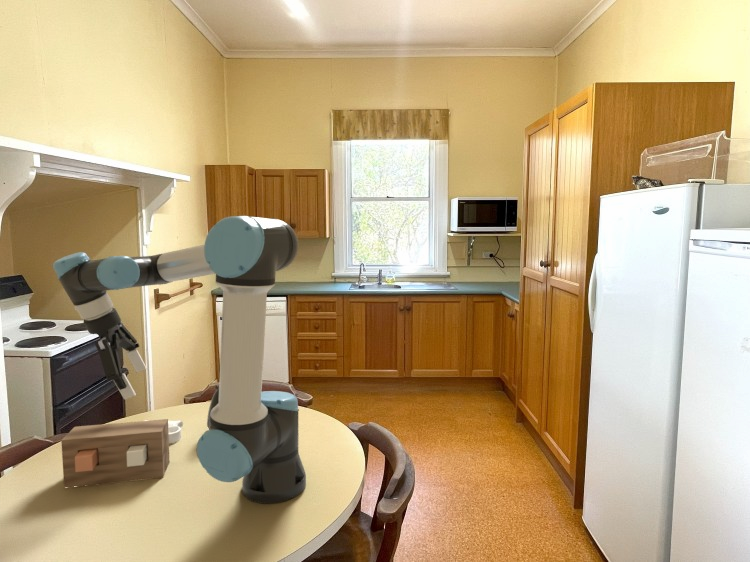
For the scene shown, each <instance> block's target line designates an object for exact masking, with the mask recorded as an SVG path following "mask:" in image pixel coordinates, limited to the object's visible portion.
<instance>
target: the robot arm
mask: <svg viewBox="0 0 750 562" xmlns="http://www.w3.org/2000/svg"><path fill="white" fill-rule="evenodd" d="M299 247H300V245H299V238H298V235H297V234H296V231H295V230H294V229H293V228H292V227H291V225H289V224H288V223H286V222H285V221H283V220H282V219H281V220H280V219H278V218H273V217H272V218H271V217H269V218H267V217H257V216H247V215H238V216H237V215H235V216H233V215H232V216H227V217H224V218H222V219H220V220H218V221H217V222H216V223H215V225H212V227H210V230H209V231H208V233H207V235H206V237H205V241H204V244H201V245H196V246H192V247H186V248H182V249H177V250H173V251H168V252H164V253H163V252H162V253H158V254H155V255H146V256H145V255H144V256H143V255H142V256H127V255H111V256H109V257H104V258H100V259H93V260H91V258H90V257H89V256H88V255H87V253H86V252H83V251H79V252H75V253H71V254H69V255H65V256H63V257H61V258H59V259H57V260H55V261H54V262H53V264H52V268H53V270H54V272H55V274H56V276H57V280H58V281H59V282H60V284H61V286H62V288H63V289H64V291H65V293H66V294H67V296H68V298H69V299H70V301H71V303H72V304H73V306H74V307H73V308H74V312H75V311H76V312H77V314H78V316H79V317H80V319H81V320H83V322H82V323H83V325H84V327H85V328H86V330H87V331H88V333H89V334H90V335H97V336H98V338H99V340H98V341H95V342H94V344H95V345H94V346H95V347H96V349H97V351H98V355H99V359H100V361H101V364H102V368H103V370H104V374H105V378H106V380H107V382H111V381H113V383H114V384H115V386H116V388H117V389H118V391H119V393H120V394H121V397H122V399H123V400H128V399H130V398H134V397H135V396H136V395H137V394H136V391H135V390H134V388H133V386H132V384H131V382H130V381H129V379H128V378H127V375H126V373H123V369H122V365H121V360H120V354H119V351H120V347H121V348H122V349H123V350H124V351H125V352H126V353H125V354H126V356H127V357H128V360H129V362H130V363H131V365H132V368H133V369H134V371H135V373H136V374H137V373H140V372H142V371H147V366H146V364H145V362H144V359H143V358H142V356H141V354H140V352H139V350H138V349H137V348H139V347H140V344H139V343H138V342H137V341H138V340H137V338H135V336H134V335H133V334H132V333H131V332H130V331H129V330H128V329H127V327H125V325H124V323H122V318H121V317H120V315H119V313H118V311H117V309H116V308H114V307H115V306H114V303H113V301H112V299H111V297H110V295H109V294H108V292H107V291H114V290H115V291H116V290H117V291H119V290H125V289H130V288H131V289H132V288H140V287H147V286H155V285H156V286H157V285H159V286H161V285H168V284H169V283H170V284H171V283H173V282H177V281H183V280H189V279H193V278H200V277H204V276H205V277H206V276H211V275H215V284H216V285H217V286H218V287H219V288H220V289H221V290H222V311H221V313H222V315H221V335H220V336H221V338H220V358H219V359H220V360H219V361H220V362H219V380H218V381H219V385H218V386H219V403H218V404H217V405H216V406H215V407H214V408H213V409H212V410H211V413H210V429H209V428H208V430H205V432H203V433H202V435H201V436H200V437H199V439H198V441H197V444H196V453H197V458H198V460H199V463H200V465H201V467H202V468H203V469H204V470H205V471H206V473H207V474H208V475H210V477H211V478H213V479H215V480H217V481H219V482H222V483H235V482H237V481H239V480H240V479H242V486H241V487H242V489H241V490H242V495H243V496H244V497H245V498H246V499H248V500H249V501H251V502H255V503H259V504H278V503H283V502H286V501H290V500H292V499H294V498H296V497H297V496H298V495H301V493H302V492H303V491H304V490H305V487H306V485H307V474H306V470H305V466H304V465H303V461H302V459H301V457H300V454H299V411H300V408H299V402H298V401H299V400H298V398H297V396H296V395H295V394H292V393H290V392H287V391H278V390H270V391H269V390H267V391H266V390H264V391H262V388H263V374H264V373H263V371H264V369H263V368H264V351H265V350H264V349H265V336H266V333H265V332H266V317H267V316H266V314H267V301H268V298H267V295H268V292H269V291H270V290H271V289H272V288H274V287H275V285H276V272H278V271H283V270H284V269H285V268H288V267H289V266H291V264H293V262H294V260H295V259H296V257H297V255H298V251H299Z"/></svg>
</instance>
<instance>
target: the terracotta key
mask: <svg viewBox="0 0 750 562" xmlns="http://www.w3.org/2000/svg"><path fill="white" fill-rule="evenodd" d="M98 462H99V455H98V448H96V449H85V450H81V451H80V452H79V453H78V454H77V455H76V457H75V472H82V471H91V470H93V469H94V468H95V466H96V465H97V464H98Z"/></svg>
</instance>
